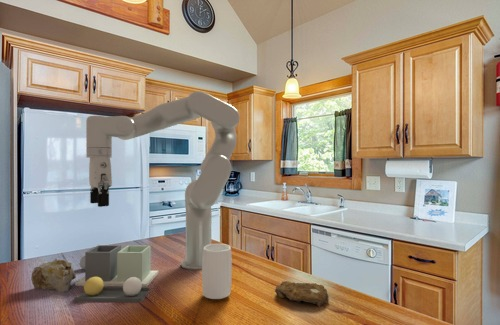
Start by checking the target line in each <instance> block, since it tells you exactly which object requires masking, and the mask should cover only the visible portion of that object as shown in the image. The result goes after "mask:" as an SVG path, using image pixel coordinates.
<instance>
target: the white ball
mask: <svg viewBox="0 0 500 325" xmlns="http://www.w3.org/2000/svg"><path fill="white" fill-rule="evenodd" d="M122 287H123V291H124V293H125V294H126V295H128V296H134V295H136V294H138V293H139V292H140V290H141V288H142V287H143V286H142V283H141V281H140V279H139V278H137V277H131V278H129V279H127V280H126V281H125V282H124V285H123V286H122Z"/></svg>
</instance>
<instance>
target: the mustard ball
mask: <svg viewBox="0 0 500 325" xmlns="http://www.w3.org/2000/svg"><path fill="white" fill-rule="evenodd" d="M103 287H105V286H104V282H103V280H102V279H101V278H99V277H92V278H90V279H88V280H87V281H86V283H85V285H84V286H83V292H84V291H85V293H86V294H87V295H90V296H94V295H97V294H99V293H100V292H101V291H102V289H103Z"/></svg>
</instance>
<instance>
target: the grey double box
mask: <svg viewBox="0 0 500 325" xmlns="http://www.w3.org/2000/svg"><path fill="white" fill-rule="evenodd" d="M151 248H152V247H151V245H126V246H125V247H123V248H122V245H120V244H119V245H118V244H117V245H115V244H114V245H111V244H109V245H108V244H107V245H106V244H105V245H104V244H103V245H99V244H97V245H96V246H93V247H92V248H91V249H89V250H87V251H85V254H84V256H85V270H84V272H85V273H84V274H85V275H84V277H82V278H81V279H79V280H78V281H76V282H75V284H74V285H75V286H76V287H77V286H79V287H84V285H85V283H86V281H87V280H88V279H90V278H92V277H99V278H101V279H102V280H103V282H104V287H123V285H124V282H125V281H126V280H127V279H129V278H131V277H137V278H139V279H140V281H141V283H142V287H149V285H150V284H151V282H152V281H153V280H154V279H155V278H156V277H157V275H158V274H159V270H151V264H152V263H151V256H152V255H151V252H152V251H151V250H152V249H151ZM75 286H74V287H75Z"/></svg>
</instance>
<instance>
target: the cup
mask: <svg viewBox="0 0 500 325" xmlns="http://www.w3.org/2000/svg"><path fill="white" fill-rule="evenodd" d="M232 257H233V256H232V247H231V246H230V245H229V244H226V243H211V244H210V245H207V246H205V247H204V248H203V257H202V270H201V279H202V280H201V281H202V282H201V283H202V295H203V296H204V297H205V298H207V299H211V300H221V299H225V298H227V297H228V296H230V294H231V290H232V276H233V275H232V272H233V271H232V269H233V268H232V267H233V262H232V261H233V260H232Z"/></svg>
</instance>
